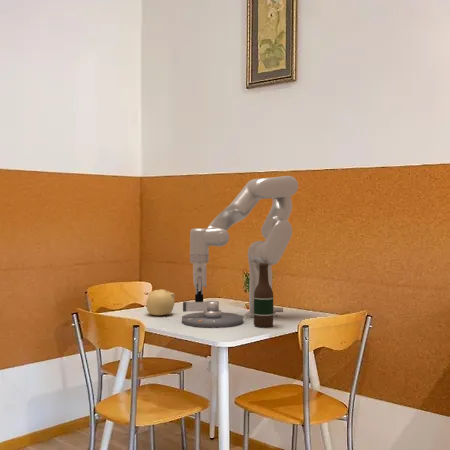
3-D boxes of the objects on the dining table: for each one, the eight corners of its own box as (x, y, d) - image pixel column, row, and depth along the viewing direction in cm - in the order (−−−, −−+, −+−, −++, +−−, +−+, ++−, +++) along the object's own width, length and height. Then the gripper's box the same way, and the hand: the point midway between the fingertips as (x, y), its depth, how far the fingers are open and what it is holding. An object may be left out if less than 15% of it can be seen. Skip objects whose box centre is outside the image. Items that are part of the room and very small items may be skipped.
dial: (220, 314, 247) (220, 300, 247) (222, 317, 240) (222, 303, 240) (182, 315, 246) (182, 300, 246) (183, 318, 239) (183, 303, 239)
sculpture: (177, 313, 265) (177, 287, 265) (169, 317, 253) (169, 291, 253) (151, 312, 267) (151, 287, 267) (142, 316, 255) (142, 290, 255)
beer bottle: (258, 328, 231) (259, 264, 231) (249, 324, 238) (250, 262, 238) (277, 326, 234) (277, 263, 234) (267, 323, 241) (268, 262, 241)
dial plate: (239, 316, 257) (239, 311, 257) (246, 327, 233) (246, 321, 233) (181, 317, 255) (181, 311, 255) (182, 328, 231) (182, 322, 231)
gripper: (209, 260, 242) (209, 307, 242) (207, 257, 257) (207, 301, 257) (190, 260, 241) (190, 307, 242) (189, 257, 256) (189, 301, 257)
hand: (199, 304), depth 249 cm, fingers closed
